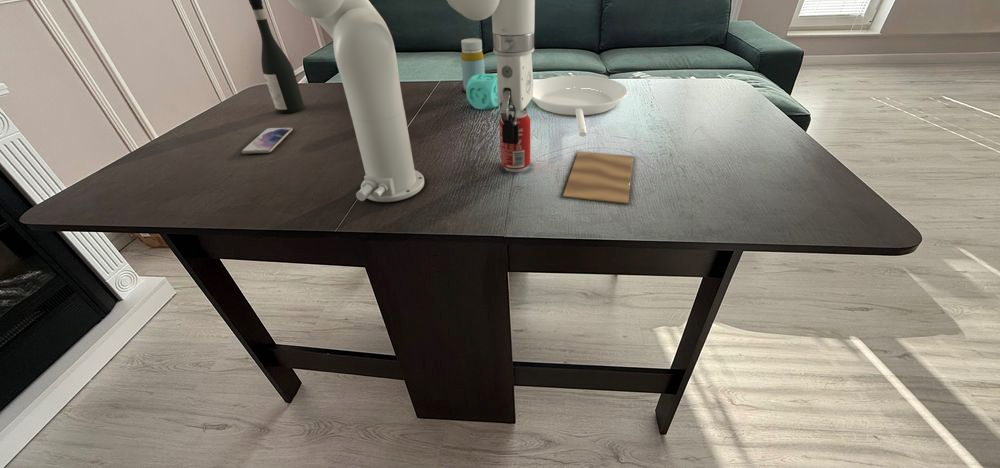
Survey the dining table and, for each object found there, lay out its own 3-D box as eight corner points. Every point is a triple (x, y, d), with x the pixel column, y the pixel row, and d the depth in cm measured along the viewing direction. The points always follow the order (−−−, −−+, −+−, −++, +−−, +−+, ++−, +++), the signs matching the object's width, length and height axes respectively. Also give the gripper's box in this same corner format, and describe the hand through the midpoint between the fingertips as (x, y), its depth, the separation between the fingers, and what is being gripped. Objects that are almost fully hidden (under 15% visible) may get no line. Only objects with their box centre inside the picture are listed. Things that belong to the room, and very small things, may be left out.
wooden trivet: (627, 204, 78) (628, 202, 78) (562, 196, 81) (562, 195, 81) (632, 157, 93) (632, 156, 93) (578, 152, 96) (578, 151, 96)
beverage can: (530, 160, 94) (531, 107, 87) (529, 174, 89) (529, 118, 82) (502, 160, 94) (500, 107, 87) (499, 173, 89) (497, 118, 82)
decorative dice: (480, 99, 129) (478, 72, 125) (503, 102, 126) (503, 74, 122) (467, 107, 124) (464, 79, 119) (491, 111, 121) (490, 82, 116)
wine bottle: (281, 116, 123) (241, -1, 106) (273, 110, 128) (233, -3, 111) (308, 109, 127) (274, -4, 110) (300, 103, 132) (266, -6, 115)
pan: (618, 87, 134) (620, 74, 132) (644, 145, 98) (646, 129, 96) (528, 88, 137) (528, 75, 134) (521, 145, 101) (521, 129, 99)
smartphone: (293, 127, 114) (269, 150, 101) (294, 130, 114) (270, 153, 102) (266, 127, 114) (239, 151, 101) (267, 130, 114) (241, 154, 102)
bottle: (460, 89, 139) (456, 39, 130) (480, 85, 141) (477, 37, 132) (468, 95, 133) (464, 43, 125) (489, 91, 136) (486, 40, 127)
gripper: (521, 54, 69) (522, 155, 80) (543, 33, 83) (541, 122, 93) (478, 53, 71) (484, 152, 82) (506, 33, 85) (509, 119, 95)
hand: (515, 135), depth 87 cm, fingers closed on beverage can, 6 cm apart
